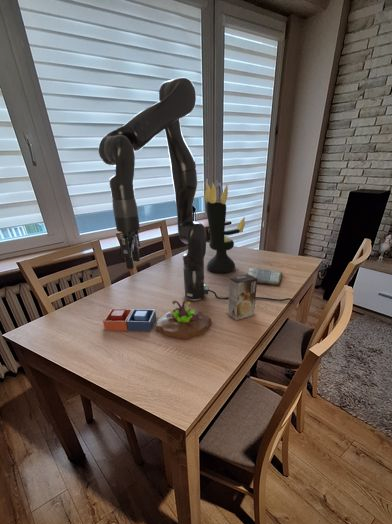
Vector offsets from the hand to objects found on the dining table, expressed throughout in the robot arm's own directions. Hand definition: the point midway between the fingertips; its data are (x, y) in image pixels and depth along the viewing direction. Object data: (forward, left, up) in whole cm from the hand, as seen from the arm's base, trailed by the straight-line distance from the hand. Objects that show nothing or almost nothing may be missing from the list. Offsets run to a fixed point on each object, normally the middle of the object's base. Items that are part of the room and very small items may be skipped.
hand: (133, 264), depth 97 cm
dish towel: (-55, -52, -24) cm, 80 cm away
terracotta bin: (+9, 0, -24) cm, 26 cm away
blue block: (0, 0, -24) cm, 24 cm away
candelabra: (-31, -66, -24) cm, 76 cm away
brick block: (+9, 0, -24) cm, 25 cm away
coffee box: (-40, -10, -24) cm, 48 cm away
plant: (-17, 0, -24) cm, 30 cm away
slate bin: (0, 0, -24) cm, 24 cm away
